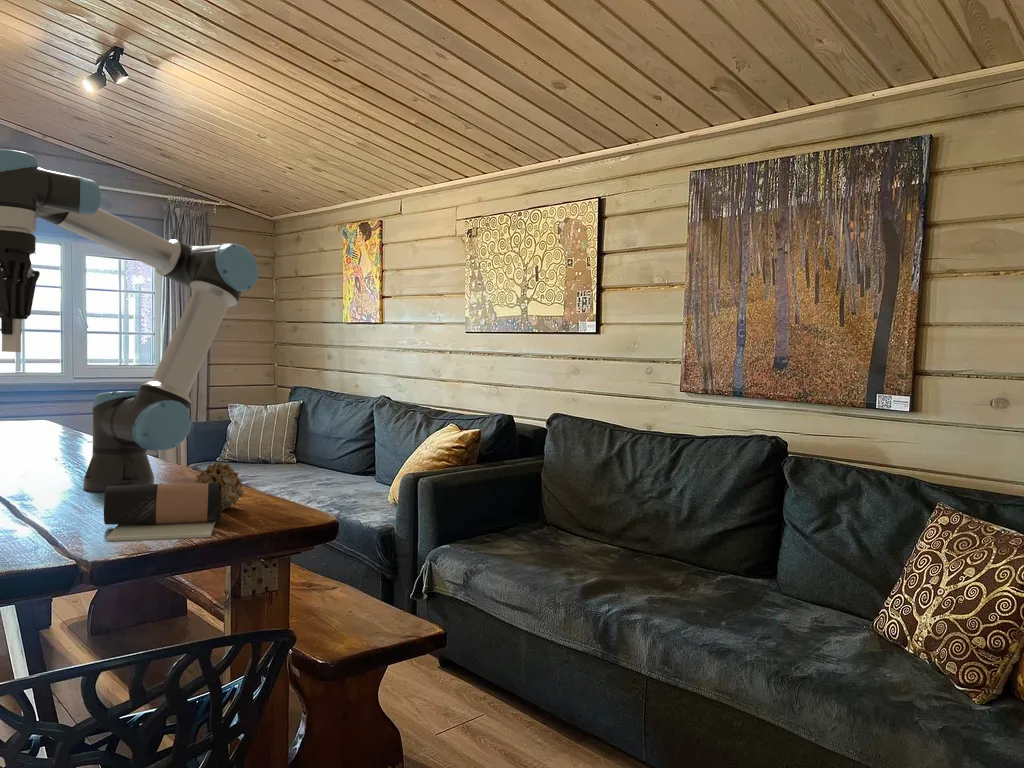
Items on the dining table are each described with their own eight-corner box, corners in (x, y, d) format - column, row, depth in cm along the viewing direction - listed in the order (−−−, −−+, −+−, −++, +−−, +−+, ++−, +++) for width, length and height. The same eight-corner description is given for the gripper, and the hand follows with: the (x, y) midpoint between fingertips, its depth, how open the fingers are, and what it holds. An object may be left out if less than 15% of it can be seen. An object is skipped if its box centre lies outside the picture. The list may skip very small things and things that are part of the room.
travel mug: (107, 528, 139) (220, 524, 147) (102, 523, 133) (221, 519, 140) (110, 488, 142) (221, 486, 149) (105, 481, 135) (222, 479, 142)
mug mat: (106, 540, 129) (106, 537, 129) (120, 524, 142) (120, 521, 142) (210, 536, 135) (210, 533, 135) (215, 521, 147) (215, 518, 147)
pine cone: (185, 504, 161) (186, 459, 161) (230, 501, 167) (231, 457, 166) (214, 525, 143) (215, 475, 143) (263, 520, 149) (264, 471, 149)
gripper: (17, 236, 151) (15, 351, 152) (-32, 225, 138) (-33, 350, 139) (53, 237, 151) (51, 352, 151) (7, 226, 138) (6, 352, 138)
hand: (11, 351), depth 145 cm, fingers closed
